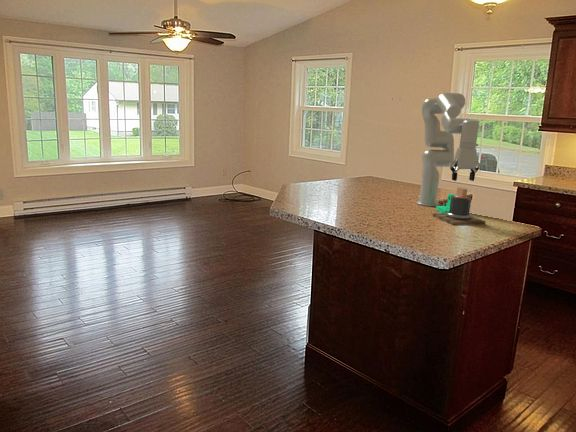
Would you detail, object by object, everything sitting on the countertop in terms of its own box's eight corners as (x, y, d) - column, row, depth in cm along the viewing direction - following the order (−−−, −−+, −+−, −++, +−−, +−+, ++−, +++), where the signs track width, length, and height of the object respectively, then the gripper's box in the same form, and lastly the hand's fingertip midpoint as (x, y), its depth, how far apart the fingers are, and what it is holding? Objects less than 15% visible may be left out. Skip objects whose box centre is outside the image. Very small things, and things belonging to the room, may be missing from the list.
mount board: (432, 216, 251) (433, 213, 251) (463, 215, 255) (464, 213, 255) (452, 224, 234) (452, 221, 234) (484, 224, 238) (485, 221, 238)
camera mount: (434, 210, 267) (436, 192, 264) (447, 210, 268) (449, 192, 266) (445, 215, 255) (447, 196, 253) (458, 215, 257) (461, 196, 254)
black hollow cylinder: (441, 214, 249) (443, 195, 246) (462, 214, 251) (464, 195, 249) (454, 220, 237) (457, 200, 235) (476, 219, 240) (478, 200, 238)
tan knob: (450, 204, 245) (452, 187, 243) (461, 204, 247) (464, 187, 245) (458, 207, 239) (460, 189, 237) (469, 206, 241) (471, 189, 239)
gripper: (478, 145, 242) (473, 179, 246) (447, 144, 238) (443, 178, 242) (487, 147, 235) (482, 181, 239) (456, 146, 231) (451, 181, 235)
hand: (462, 180), depth 241 cm, fingers open, 9 cm apart
